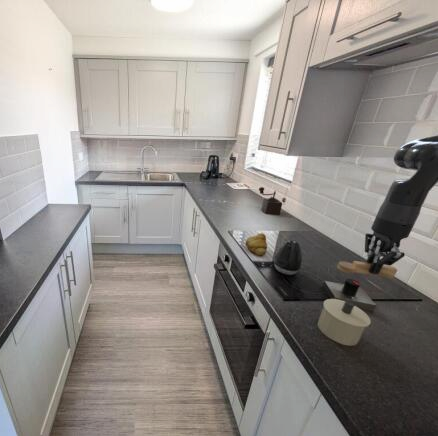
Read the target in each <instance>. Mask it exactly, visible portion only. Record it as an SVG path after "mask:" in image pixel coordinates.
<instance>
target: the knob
mask: <svg viewBox="0 0 438 436" xmlns="http://www.w3.org/2000/svg"><path fill="white" fill-rule="evenodd" d="M343 284H344V286H343V288H342V291H343V292H344V293H346V294H348V295H352V296H354V295H356V293H357V291H358V289H359V287H360V286H361V283H360V282H359V281H357V280H356V279H354V278H353V279H352V278H346V279H345V280H344V282H343Z"/></svg>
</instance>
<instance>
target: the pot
mask: <svg viewBox="0 0 438 436" xmlns="http://www.w3.org/2000/svg"><path fill="white" fill-rule="evenodd" d="M316 324H317V327H318V329H319V330H320V332H321V333H322V334H323V335H324V336H325V337H327V338H328V339H330V340H331V341H334V342H335V343H337V344H340V345H342V346H347V347H348V346H350V347H353V346H357V345H358V344H359V342H360V341H361V340H362V337H363V335H364V333H365V331H366V329H367V327H365V328H359V327H354V326H350V325H347V324H345V323H343V322H340V321H339V320H337V319H335V318H334V317H332V316H331V315H330V314H329V313H328V312H327V311H326V310H325V309H324V306H322V309H321V312H320V315H319V317H318V319H317V323H316Z"/></svg>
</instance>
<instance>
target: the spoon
mask: <svg viewBox="0 0 438 436" xmlns="http://www.w3.org/2000/svg"><path fill="white" fill-rule="evenodd" d="M371 264H372V263H366V261H358V260H353V262H349V261H343V260H340V261H339V262H338V264H337V266H336V267H337V269H339V270H340V271H341V272H343V273H345V274H346V273H347V274H351V275H352V274H355V273H358V274H364V275H371V276H376V277H377V276H378V277H382V278H389V279H394V278H395V276H396V273H397V272H398V269H397V268H396V267H394V266H393V265H391V266H389V265H383V267H382V269H381V271H380V273H379V274H371V273H370V272H369V269H370V267H371Z"/></svg>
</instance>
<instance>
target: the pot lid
mask: <svg viewBox="0 0 438 436" xmlns="http://www.w3.org/2000/svg"><path fill="white" fill-rule="evenodd" d="M322 305H323V306H322V307H324V309H325V310H326V311H327V312H328V313H329V314H330V315H331V316H332V317H334V318H335V319H337V320H339V321H340V322H343V323H345V324H347V325H350V326H354V327H359V328H365V327H366V328H368V327H369V326H370V325H371V323H372V322H371V318H370V316H369V315H368V314H367V313H366V312H365V311H364V310H361V309H359V308H358V307H356V306H354V304H353V303H351V302H349V301H342V300H338V299H329V298H327V299H325V300H324V301H323V304H322Z"/></svg>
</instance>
